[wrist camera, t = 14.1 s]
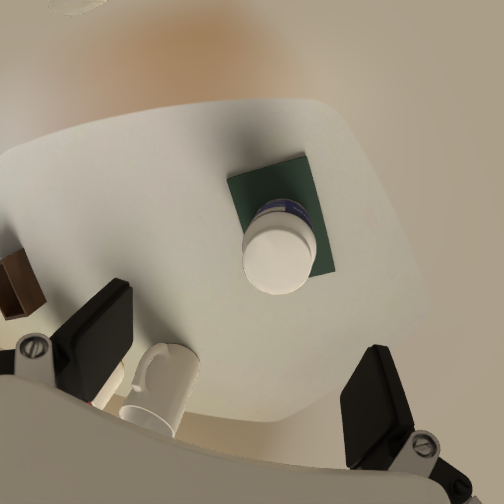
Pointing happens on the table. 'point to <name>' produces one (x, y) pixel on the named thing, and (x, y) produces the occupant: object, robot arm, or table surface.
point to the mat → (283, 187)
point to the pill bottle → (279, 247)
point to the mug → (161, 388)
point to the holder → (18, 287)
